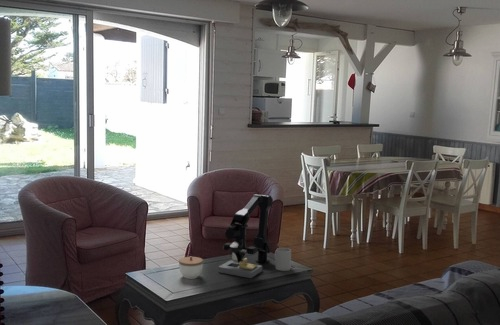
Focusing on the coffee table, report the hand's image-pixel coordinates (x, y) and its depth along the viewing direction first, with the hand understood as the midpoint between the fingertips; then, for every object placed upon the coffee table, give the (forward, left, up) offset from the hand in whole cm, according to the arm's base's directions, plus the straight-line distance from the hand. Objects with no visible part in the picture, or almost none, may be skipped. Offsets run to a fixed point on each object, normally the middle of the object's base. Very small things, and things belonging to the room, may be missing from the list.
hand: (239, 263), depth 286 cm
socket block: (0, +1, -4) cm, 5 cm away
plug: (-10, -6, -4) cm, 13 cm away
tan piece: (0, +5, -1) cm, 6 cm away
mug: (-18, +18, -5) cm, 25 cm away
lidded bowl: (+21, -18, -5) cm, 28 cm away
